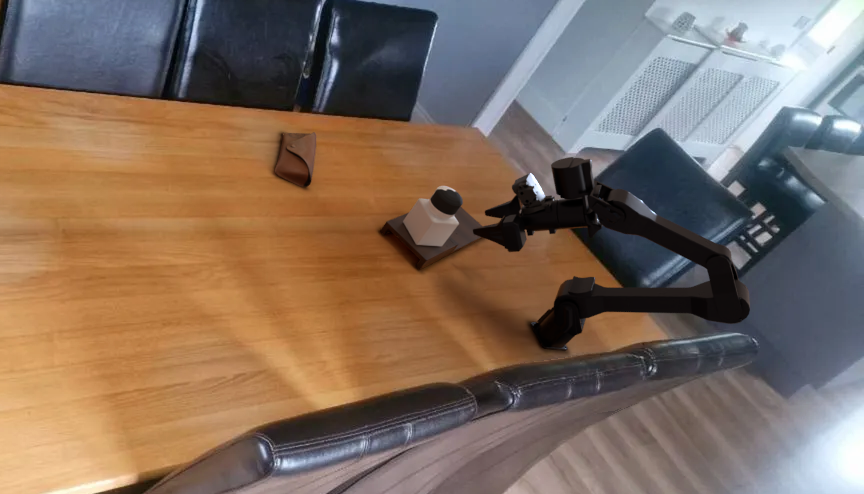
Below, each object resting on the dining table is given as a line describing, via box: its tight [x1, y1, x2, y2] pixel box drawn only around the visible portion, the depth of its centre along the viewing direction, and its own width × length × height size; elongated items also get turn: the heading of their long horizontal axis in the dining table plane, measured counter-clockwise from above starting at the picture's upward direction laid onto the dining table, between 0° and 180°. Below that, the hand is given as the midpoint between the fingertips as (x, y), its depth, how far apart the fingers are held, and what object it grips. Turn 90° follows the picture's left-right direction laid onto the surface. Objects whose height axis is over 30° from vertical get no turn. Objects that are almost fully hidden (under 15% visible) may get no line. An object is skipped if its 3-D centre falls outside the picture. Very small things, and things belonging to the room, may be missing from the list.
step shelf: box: [379, 206, 483, 270], centre depth 158 cm, size 30×12×3 cm, turn 135°
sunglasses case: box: [273, 131, 317, 188], centre depth 158 cm, size 18×7×7 cm, turn 176°
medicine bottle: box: [403, 185, 464, 246], centre depth 147 cm, size 7×7×12 cm
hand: (479, 222), depth 143 cm, fingers open, 9 cm apart
